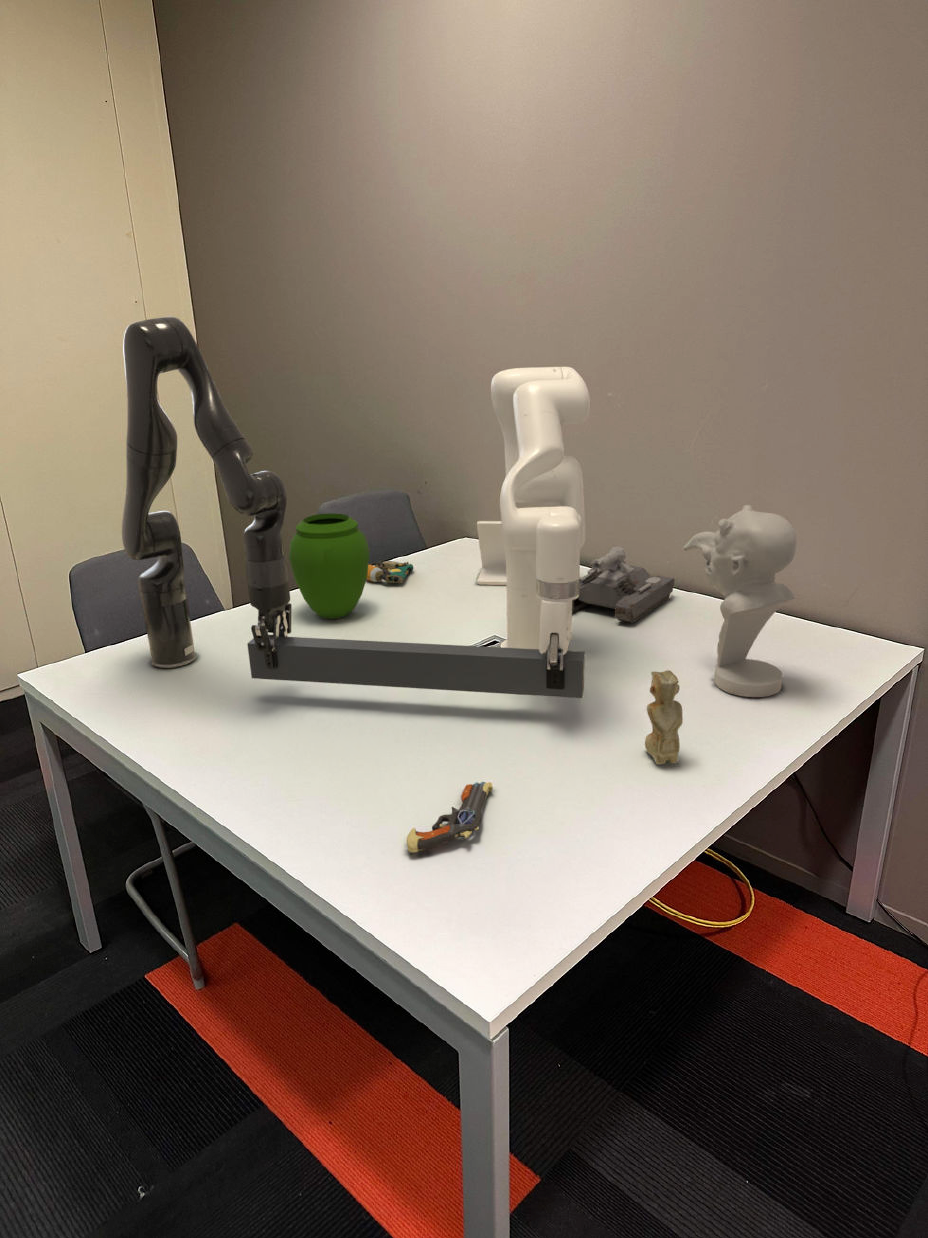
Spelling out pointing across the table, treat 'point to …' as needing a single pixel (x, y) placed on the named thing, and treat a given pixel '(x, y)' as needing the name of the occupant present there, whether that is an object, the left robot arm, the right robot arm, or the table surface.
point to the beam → (418, 666)
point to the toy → (622, 587)
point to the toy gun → (454, 820)
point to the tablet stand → (491, 553)
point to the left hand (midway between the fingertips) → (277, 662)
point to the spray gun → (389, 571)
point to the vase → (329, 563)
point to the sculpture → (664, 718)
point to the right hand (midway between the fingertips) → (556, 681)
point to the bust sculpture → (747, 593)
